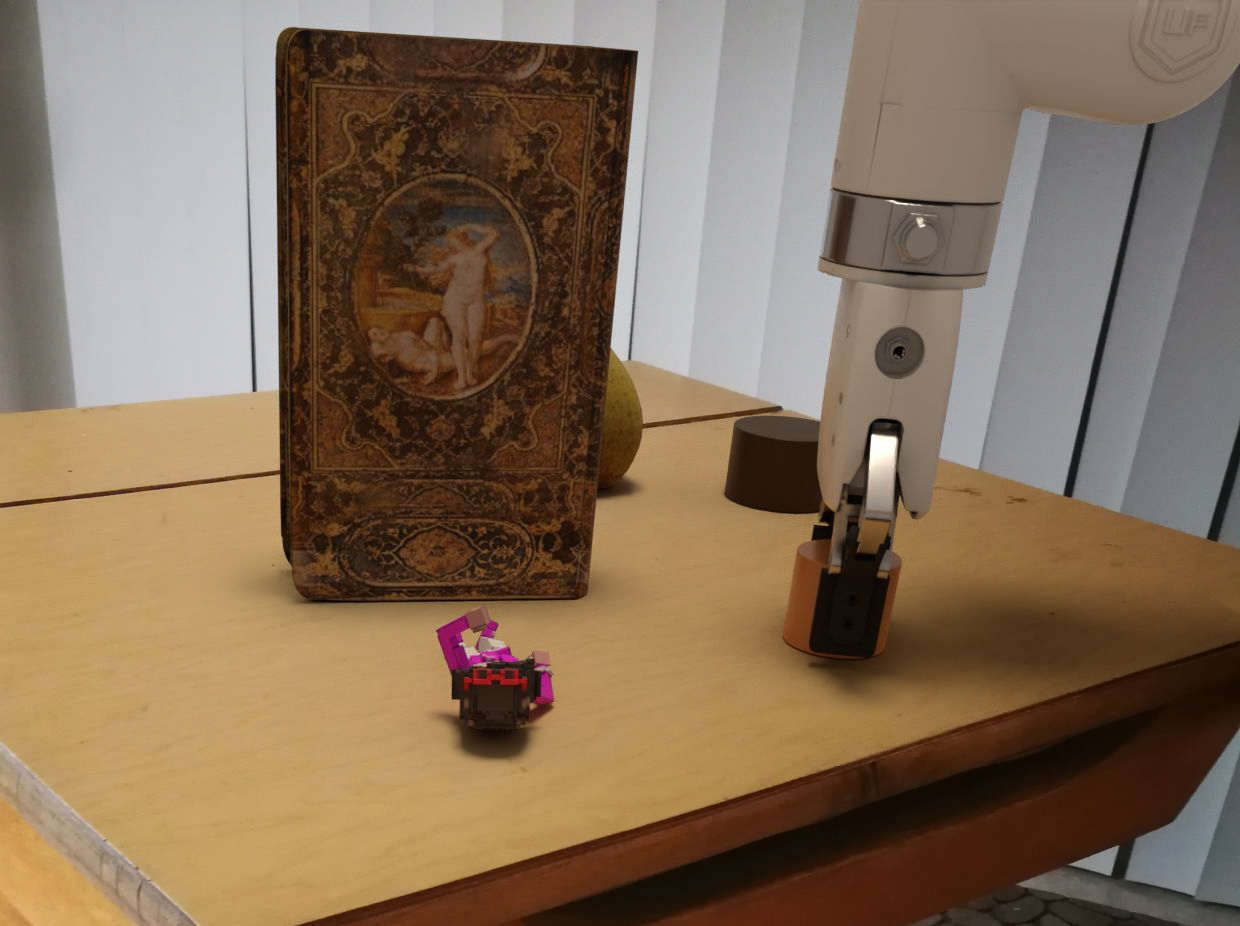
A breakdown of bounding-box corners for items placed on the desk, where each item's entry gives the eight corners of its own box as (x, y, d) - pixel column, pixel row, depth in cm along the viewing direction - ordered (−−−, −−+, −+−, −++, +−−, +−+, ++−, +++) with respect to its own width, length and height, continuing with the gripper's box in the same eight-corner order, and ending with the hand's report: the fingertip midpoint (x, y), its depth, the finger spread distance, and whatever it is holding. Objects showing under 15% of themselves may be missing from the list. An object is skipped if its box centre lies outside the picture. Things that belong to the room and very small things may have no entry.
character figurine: (415, 675, 73) (442, 748, 63) (420, 567, 71) (449, 623, 60) (531, 680, 74) (578, 752, 64) (540, 573, 72) (590, 629, 61)
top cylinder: (880, 629, 80) (897, 544, 78) (889, 663, 76) (907, 574, 73) (780, 619, 81) (794, 534, 78) (784, 653, 76) (799, 564, 74)
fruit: (661, 486, 103) (683, 292, 96) (573, 507, 97) (590, 302, 90) (565, 459, 107) (579, 272, 101) (475, 478, 102) (485, 281, 95)
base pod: (829, 489, 105) (841, 420, 102) (835, 517, 99) (848, 445, 96) (724, 479, 105) (733, 411, 103) (724, 506, 99) (734, 435, 97)
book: (572, 567, 86) (617, 47, 73) (598, 598, 82) (651, 51, 68) (281, 569, 83) (271, 25, 69) (291, 602, 78) (283, 27, 65)
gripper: (1024, 273, 61) (929, 697, 70) (966, 227, 75) (894, 583, 85) (834, 258, 61) (765, 681, 71) (813, 215, 76) (758, 570, 85)
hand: (836, 624), depth 78 cm, fingers open, 6 cm apart
